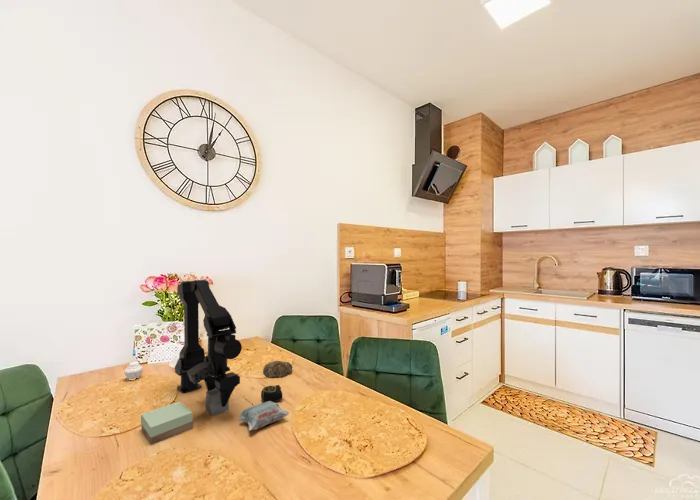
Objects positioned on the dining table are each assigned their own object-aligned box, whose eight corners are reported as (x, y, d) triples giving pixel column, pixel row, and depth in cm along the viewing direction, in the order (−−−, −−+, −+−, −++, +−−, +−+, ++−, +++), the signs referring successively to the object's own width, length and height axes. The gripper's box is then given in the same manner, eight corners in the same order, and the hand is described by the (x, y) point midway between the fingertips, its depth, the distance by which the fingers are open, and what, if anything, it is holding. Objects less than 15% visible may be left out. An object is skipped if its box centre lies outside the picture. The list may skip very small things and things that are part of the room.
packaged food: (288, 421, 87) (288, 404, 87) (249, 438, 80) (249, 419, 80) (275, 411, 94) (275, 395, 94) (237, 424, 86) (237, 407, 86)
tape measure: (282, 402, 99) (282, 391, 99) (261, 405, 97) (261, 394, 97) (280, 394, 106) (281, 383, 106) (260, 396, 103) (260, 385, 104)
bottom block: (141, 432, 83) (141, 423, 83) (180, 418, 91) (180, 409, 91) (151, 447, 76) (151, 437, 77) (192, 430, 84) (192, 421, 84)
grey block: (205, 410, 94) (206, 391, 94) (221, 405, 97) (221, 386, 98) (212, 416, 90) (212, 396, 91) (228, 410, 94) (228, 391, 94)
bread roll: (263, 369, 130) (263, 357, 130) (292, 366, 133) (292, 355, 133) (262, 380, 118) (262, 367, 118) (293, 377, 121) (293, 365, 121)
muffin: (121, 380, 118) (121, 362, 118) (138, 374, 123) (138, 357, 123) (128, 383, 115) (128, 365, 115) (145, 377, 120) (146, 360, 120)
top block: (140, 423, 83) (141, 414, 83) (180, 409, 91) (180, 401, 91) (150, 437, 76) (150, 427, 77) (192, 421, 84) (192, 412, 84)
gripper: (179, 351, 95) (179, 401, 94) (203, 365, 82) (202, 423, 82) (215, 344, 103) (214, 389, 103) (241, 355, 90) (240, 408, 90)
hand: (217, 401), depth 94 cm, fingers open, 9 cm apart
